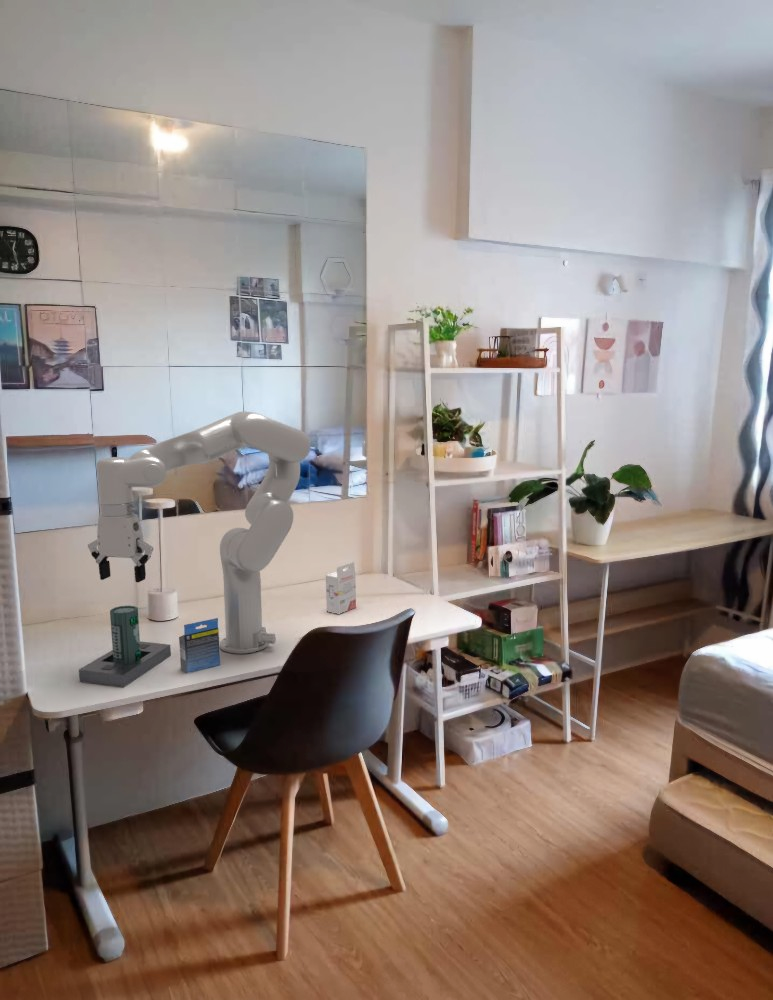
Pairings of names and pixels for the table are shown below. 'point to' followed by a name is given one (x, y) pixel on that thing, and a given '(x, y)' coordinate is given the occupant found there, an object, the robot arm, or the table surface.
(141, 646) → the rail plate
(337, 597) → the ink cartridge box
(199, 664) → the label tape cartridge
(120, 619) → the can
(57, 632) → the table surface
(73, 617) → the table surface
